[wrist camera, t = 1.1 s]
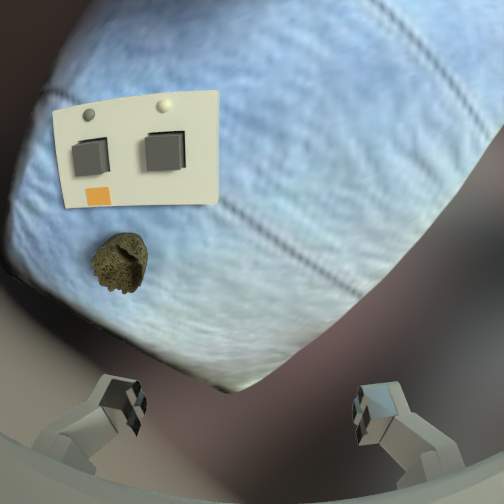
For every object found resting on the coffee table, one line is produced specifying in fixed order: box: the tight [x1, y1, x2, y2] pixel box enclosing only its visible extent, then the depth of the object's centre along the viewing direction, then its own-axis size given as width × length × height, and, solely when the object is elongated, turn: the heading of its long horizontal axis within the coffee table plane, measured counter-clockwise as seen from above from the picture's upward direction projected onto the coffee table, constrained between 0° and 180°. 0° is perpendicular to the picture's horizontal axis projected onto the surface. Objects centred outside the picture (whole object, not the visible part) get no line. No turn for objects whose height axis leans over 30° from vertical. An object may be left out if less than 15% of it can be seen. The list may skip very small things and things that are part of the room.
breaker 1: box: [71, 138, 110, 177], centre depth 32 cm, size 4×4×3 cm
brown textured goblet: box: [91, 233, 148, 294], centre depth 39 cm, size 8×7×8 cm
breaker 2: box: [145, 132, 185, 171], centre depth 33 cm, size 4×4×3 cm
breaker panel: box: [52, 90, 219, 208], centre depth 34 cm, size 14×22×3 cm, turn 88°
